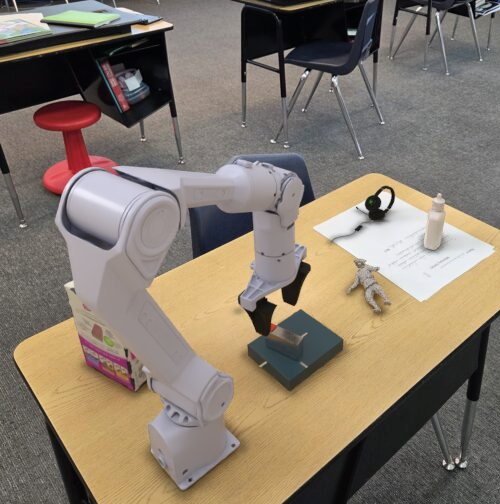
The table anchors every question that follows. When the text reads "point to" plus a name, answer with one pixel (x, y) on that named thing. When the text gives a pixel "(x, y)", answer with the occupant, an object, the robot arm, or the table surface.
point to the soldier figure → (368, 283)
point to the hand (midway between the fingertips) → (276, 317)
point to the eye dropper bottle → (435, 223)
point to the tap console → (314, 350)
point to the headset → (376, 206)
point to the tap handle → (285, 342)
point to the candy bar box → (104, 346)
